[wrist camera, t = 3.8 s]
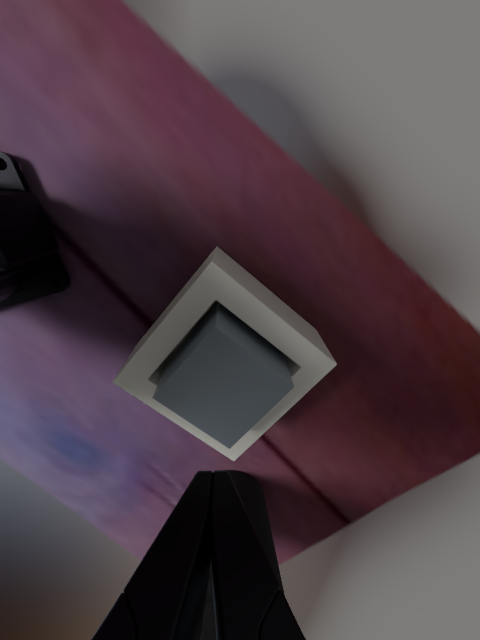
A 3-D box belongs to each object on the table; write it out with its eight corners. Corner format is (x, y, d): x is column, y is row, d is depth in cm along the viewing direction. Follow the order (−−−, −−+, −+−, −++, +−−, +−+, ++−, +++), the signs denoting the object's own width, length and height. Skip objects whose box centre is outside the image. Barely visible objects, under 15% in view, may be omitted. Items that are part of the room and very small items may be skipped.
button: (230, 406, 17) (229, 449, 14) (166, 362, 16) (152, 397, 13) (283, 352, 16) (294, 386, 13) (218, 301, 15) (215, 326, 12)
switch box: (234, 411, 20) (233, 461, 16) (137, 343, 18) (112, 382, 15) (316, 329, 18) (337, 364, 15) (216, 245, 17) (211, 261, 13)
